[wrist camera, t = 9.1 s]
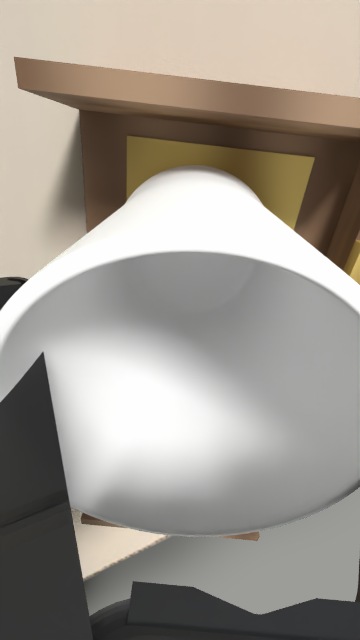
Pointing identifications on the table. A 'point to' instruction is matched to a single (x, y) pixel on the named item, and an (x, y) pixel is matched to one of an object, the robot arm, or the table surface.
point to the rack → (215, 148)
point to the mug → (195, 362)
